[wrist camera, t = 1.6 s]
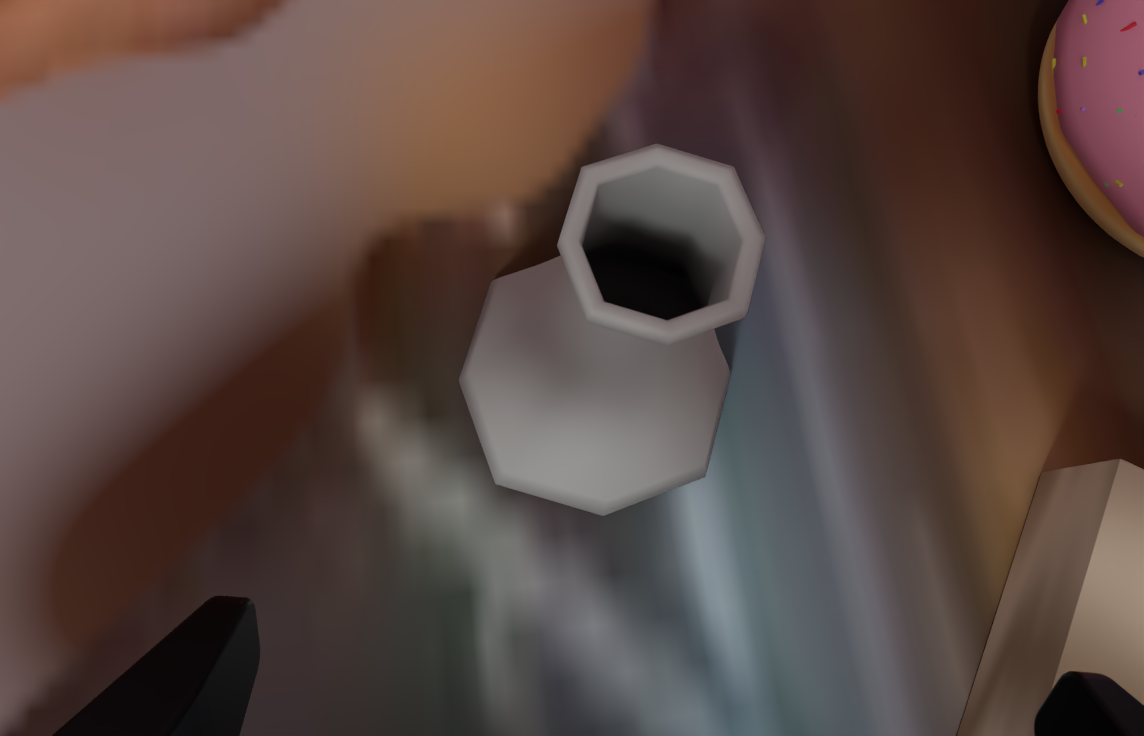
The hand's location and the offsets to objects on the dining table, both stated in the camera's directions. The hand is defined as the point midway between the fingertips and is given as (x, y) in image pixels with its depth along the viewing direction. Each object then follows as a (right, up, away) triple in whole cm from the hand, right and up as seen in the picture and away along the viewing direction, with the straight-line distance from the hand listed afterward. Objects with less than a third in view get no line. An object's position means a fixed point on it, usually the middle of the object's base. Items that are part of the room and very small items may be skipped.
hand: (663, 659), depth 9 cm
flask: (0, +3, +13) cm, 14 cm away
